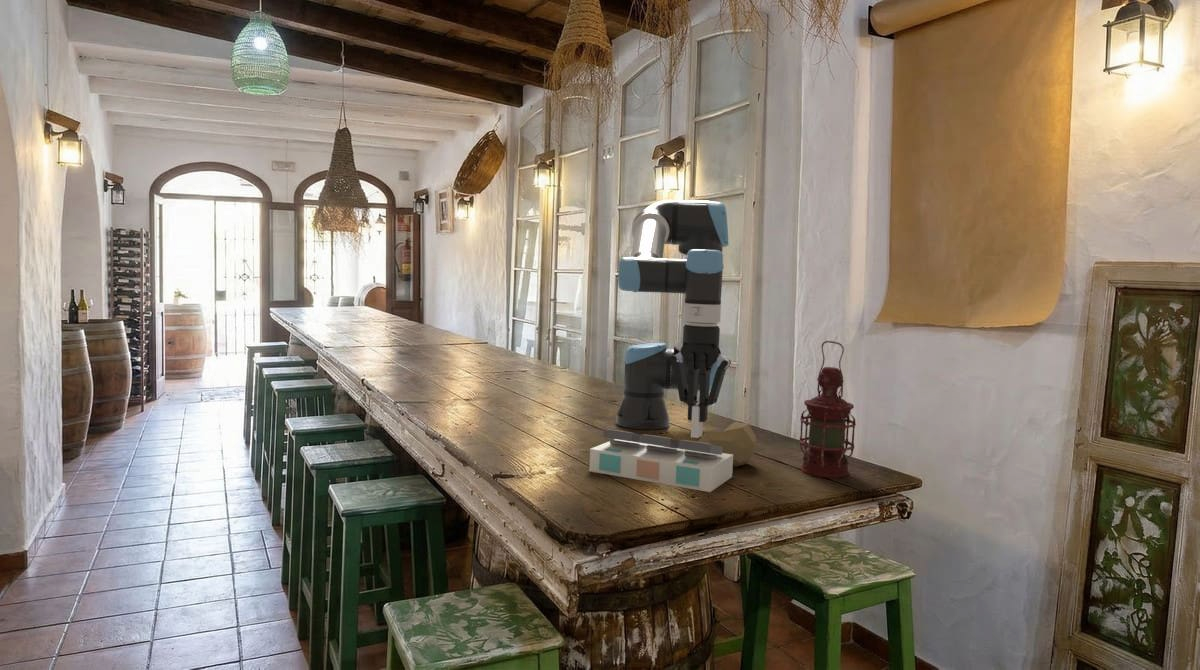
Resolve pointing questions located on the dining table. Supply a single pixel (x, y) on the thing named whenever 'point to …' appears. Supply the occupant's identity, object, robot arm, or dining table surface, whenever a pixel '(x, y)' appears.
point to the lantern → (827, 426)
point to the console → (662, 464)
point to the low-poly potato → (733, 441)
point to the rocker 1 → (621, 435)
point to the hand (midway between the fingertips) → (696, 436)
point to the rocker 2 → (700, 447)
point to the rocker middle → (659, 441)
